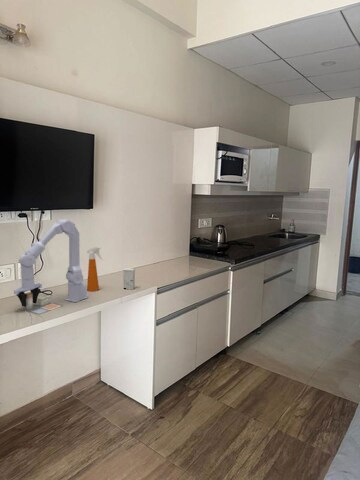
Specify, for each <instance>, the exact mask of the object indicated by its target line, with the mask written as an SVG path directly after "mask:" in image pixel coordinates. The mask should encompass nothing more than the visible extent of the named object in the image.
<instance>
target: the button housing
mask: <svg viewBox="0 0 360 480" xmlns="http://www.w3.org/2000/svg"><path fill="white" fill-rule="evenodd" d="M49 301H50V300H49V299H48V298H46V300H45V301H42V302H41V301H38V299H37V302H36V303H34V304H36V305H41V306H42V305H45V304H48V303H49Z"/></svg>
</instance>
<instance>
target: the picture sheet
mask: <svg viewBox="0 0 360 480" xmlns="http://www.w3.org/2000/svg"><path fill="white" fill-rule="evenodd" d="M61 307H64V305H62V304H58V303H54V302H49V303H48V304H45V305H42V306H41V305H36V304H35V303H33V309H26V307H21V308H19V309H18V310H20V311H24V312H27V313H32V314H35V315H42V314H44V313H48V312H50V311H53V310H55V309H59V308H61Z"/></svg>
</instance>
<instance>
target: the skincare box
mask: <svg viewBox="0 0 360 480" xmlns="http://www.w3.org/2000/svg"><path fill="white" fill-rule="evenodd" d="M135 276H136V269H135V268H132V267H131V268H129V267H125V268H124V269H123V288H126V289H125V290H134V289H135V288H136V286H135V285H136V284H135V282H136V281H135V280H136V277H135ZM134 287H135V288H134ZM133 288H134V289H133Z"/></svg>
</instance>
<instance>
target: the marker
mask: <svg viewBox="0 0 360 480" xmlns="http://www.w3.org/2000/svg"><path fill="white" fill-rule="evenodd" d="M25 294H27V297H26V309H33V304H34V303H33V298H32V297H33V294H32V293H31V292H25Z"/></svg>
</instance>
